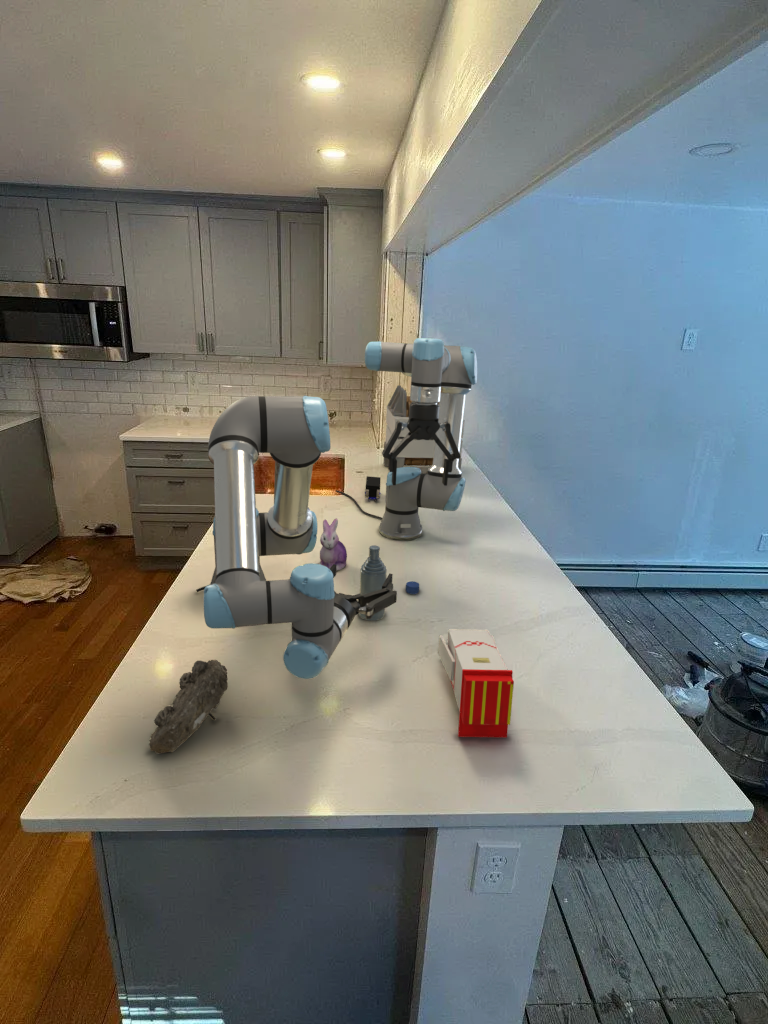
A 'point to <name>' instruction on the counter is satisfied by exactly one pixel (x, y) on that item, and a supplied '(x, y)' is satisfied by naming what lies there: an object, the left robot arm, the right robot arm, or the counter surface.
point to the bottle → (372, 577)
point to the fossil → (189, 705)
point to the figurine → (332, 547)
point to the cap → (412, 587)
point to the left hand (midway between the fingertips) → (362, 574)
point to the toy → (478, 682)
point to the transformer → (416, 449)
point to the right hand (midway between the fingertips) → (419, 484)
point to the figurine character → (372, 488)
